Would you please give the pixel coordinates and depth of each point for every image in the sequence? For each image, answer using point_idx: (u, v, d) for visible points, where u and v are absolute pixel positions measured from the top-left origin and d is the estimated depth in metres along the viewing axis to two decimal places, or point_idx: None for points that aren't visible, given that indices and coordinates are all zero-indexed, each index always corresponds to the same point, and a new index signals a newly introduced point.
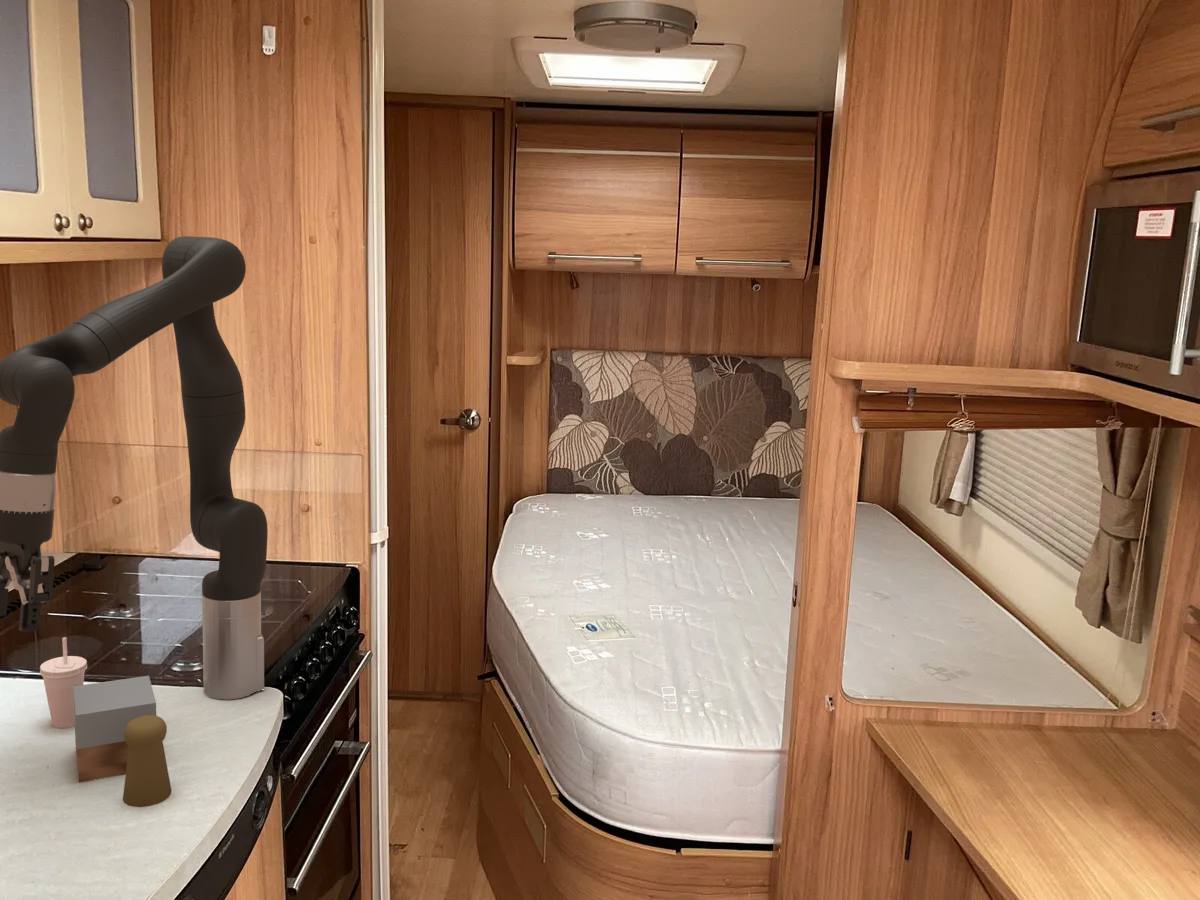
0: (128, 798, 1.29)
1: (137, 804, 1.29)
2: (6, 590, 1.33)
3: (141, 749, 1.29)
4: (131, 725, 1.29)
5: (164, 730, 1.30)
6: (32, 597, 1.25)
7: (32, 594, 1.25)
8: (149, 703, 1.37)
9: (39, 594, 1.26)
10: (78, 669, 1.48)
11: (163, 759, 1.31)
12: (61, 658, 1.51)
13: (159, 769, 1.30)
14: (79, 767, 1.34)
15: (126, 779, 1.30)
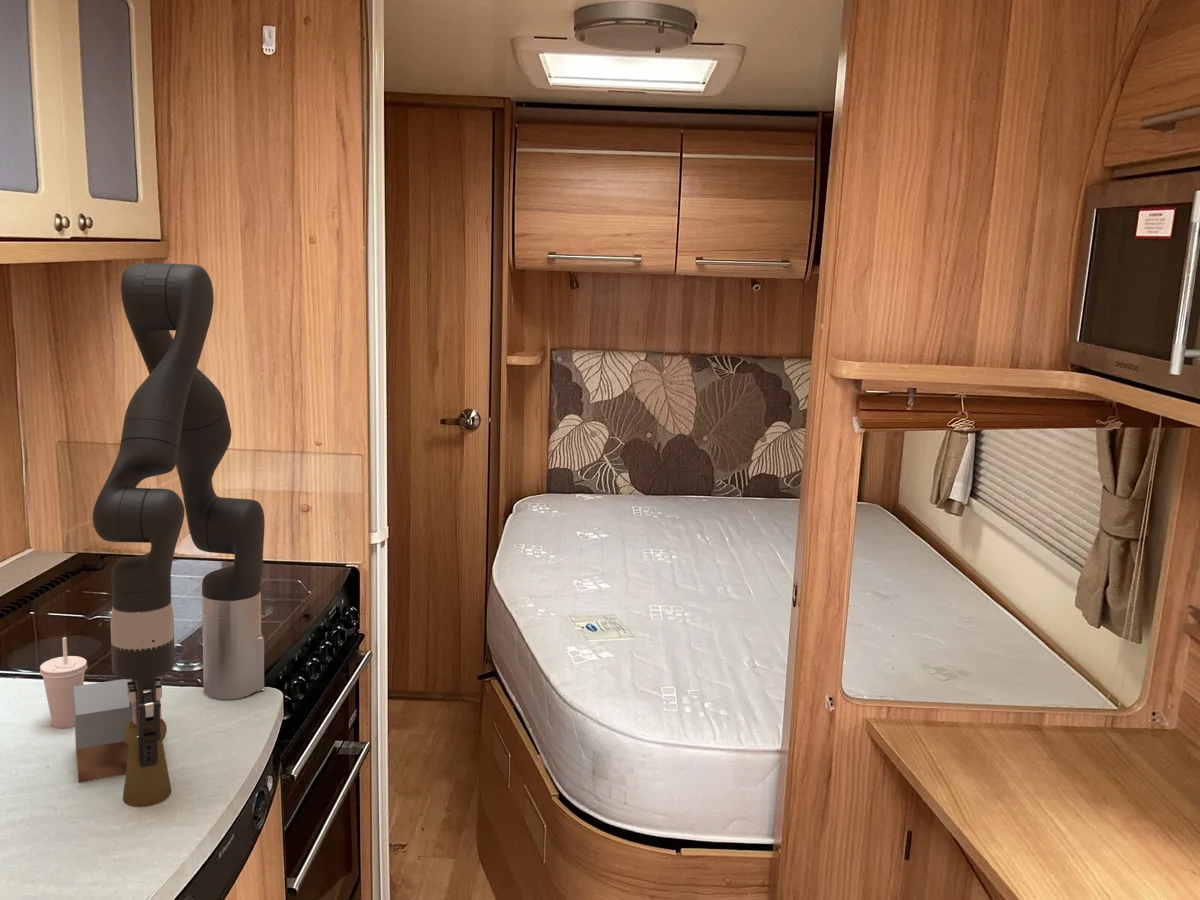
0: (128, 798, 1.29)
1: (137, 804, 1.29)
2: None
3: None
4: (131, 725, 1.29)
5: (164, 730, 1.30)
6: (139, 738, 1.25)
7: (139, 735, 1.25)
8: None
9: (146, 735, 1.25)
10: (78, 669, 1.48)
11: (163, 759, 1.31)
12: (61, 658, 1.51)
13: (159, 769, 1.30)
14: (79, 767, 1.34)
15: (126, 779, 1.30)
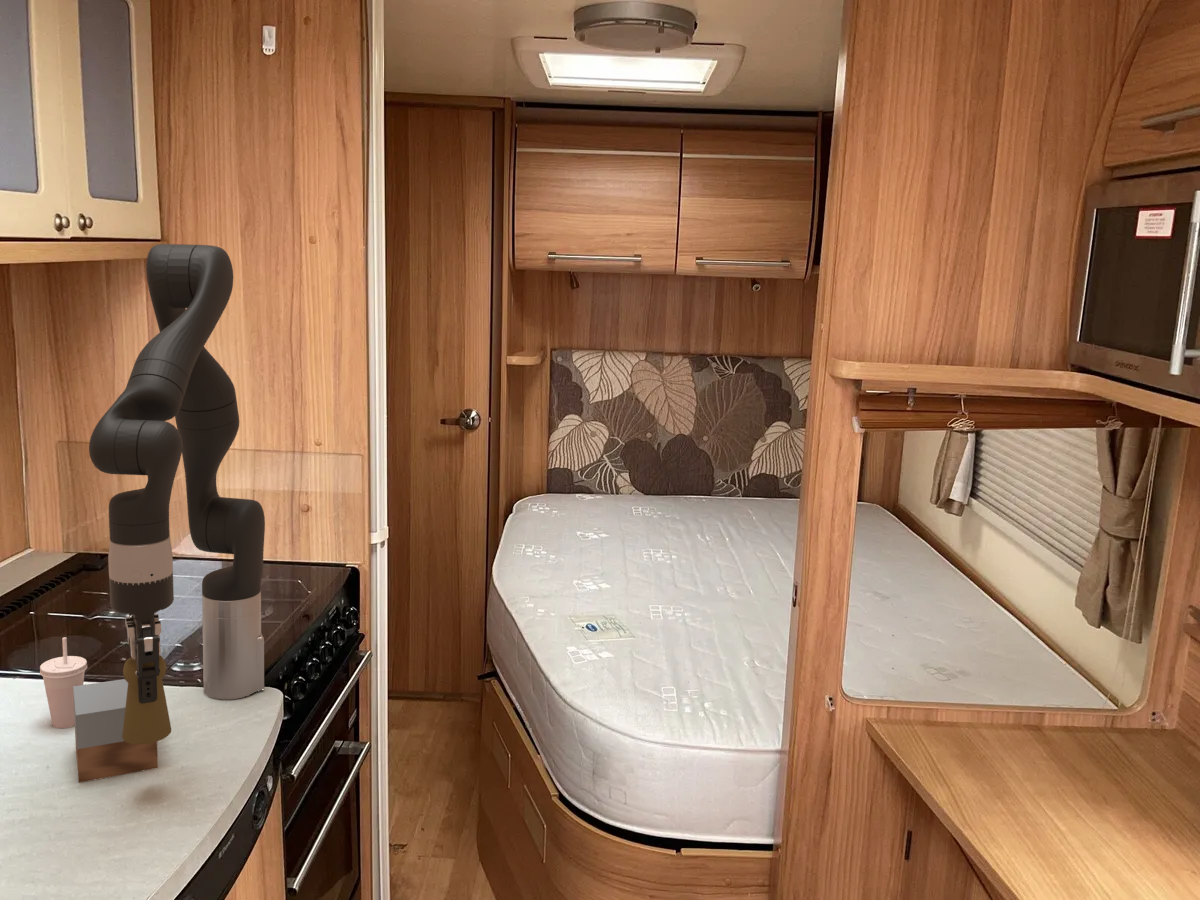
0: (127, 735, 1.28)
1: (137, 741, 1.28)
2: None
3: None
4: (130, 661, 1.27)
5: (163, 667, 1.29)
6: (138, 673, 1.23)
7: (138, 670, 1.23)
8: None
9: (145, 670, 1.24)
10: (78, 669, 1.48)
11: (163, 697, 1.30)
12: (61, 658, 1.51)
13: (159, 706, 1.29)
14: (79, 767, 1.34)
15: (125, 716, 1.28)
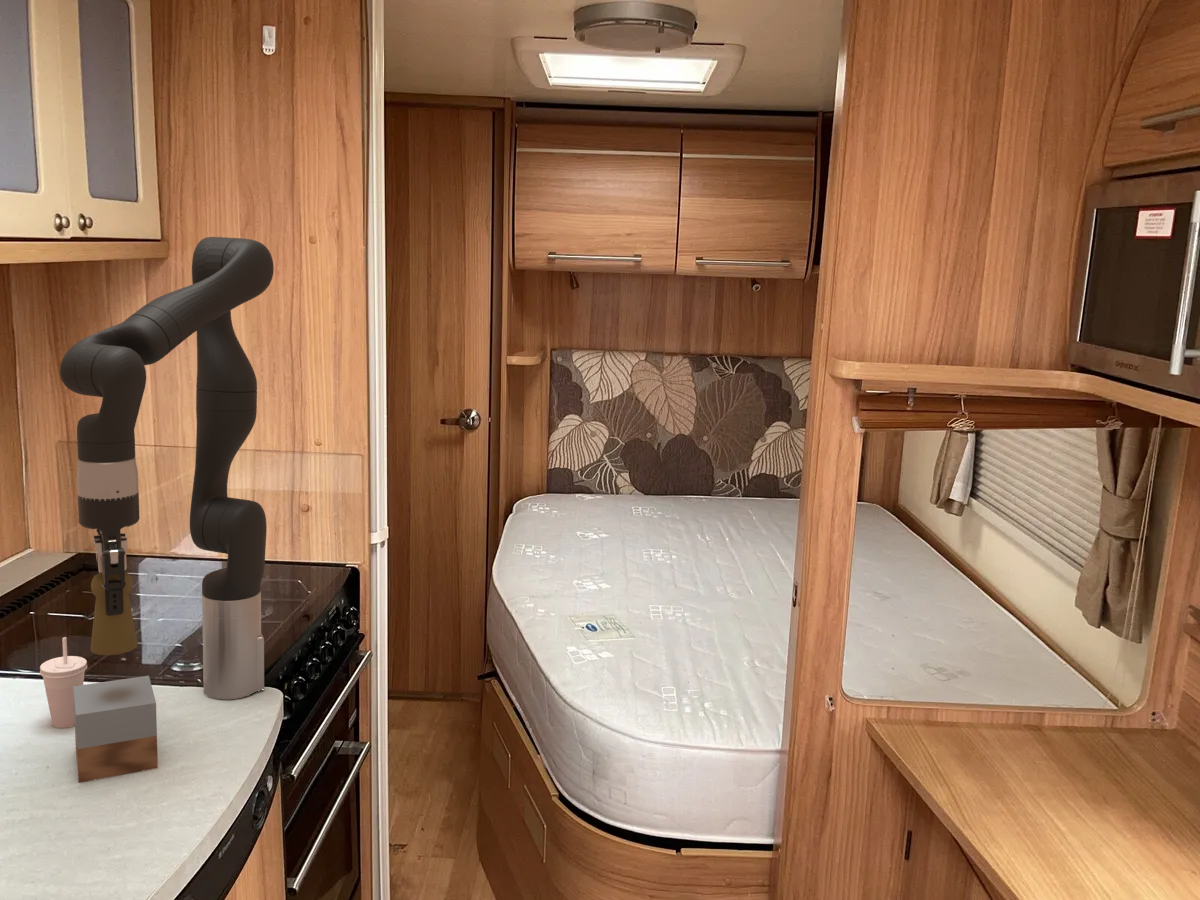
0: (95, 647, 1.35)
1: (104, 652, 1.35)
2: None
3: None
4: (98, 576, 1.34)
5: (130, 583, 1.36)
6: (104, 584, 1.30)
7: (104, 582, 1.30)
8: (149, 703, 1.37)
9: (111, 582, 1.31)
10: (78, 669, 1.48)
11: (129, 611, 1.37)
12: (61, 658, 1.51)
13: (125, 620, 1.36)
14: (79, 767, 1.34)
15: (93, 629, 1.35)
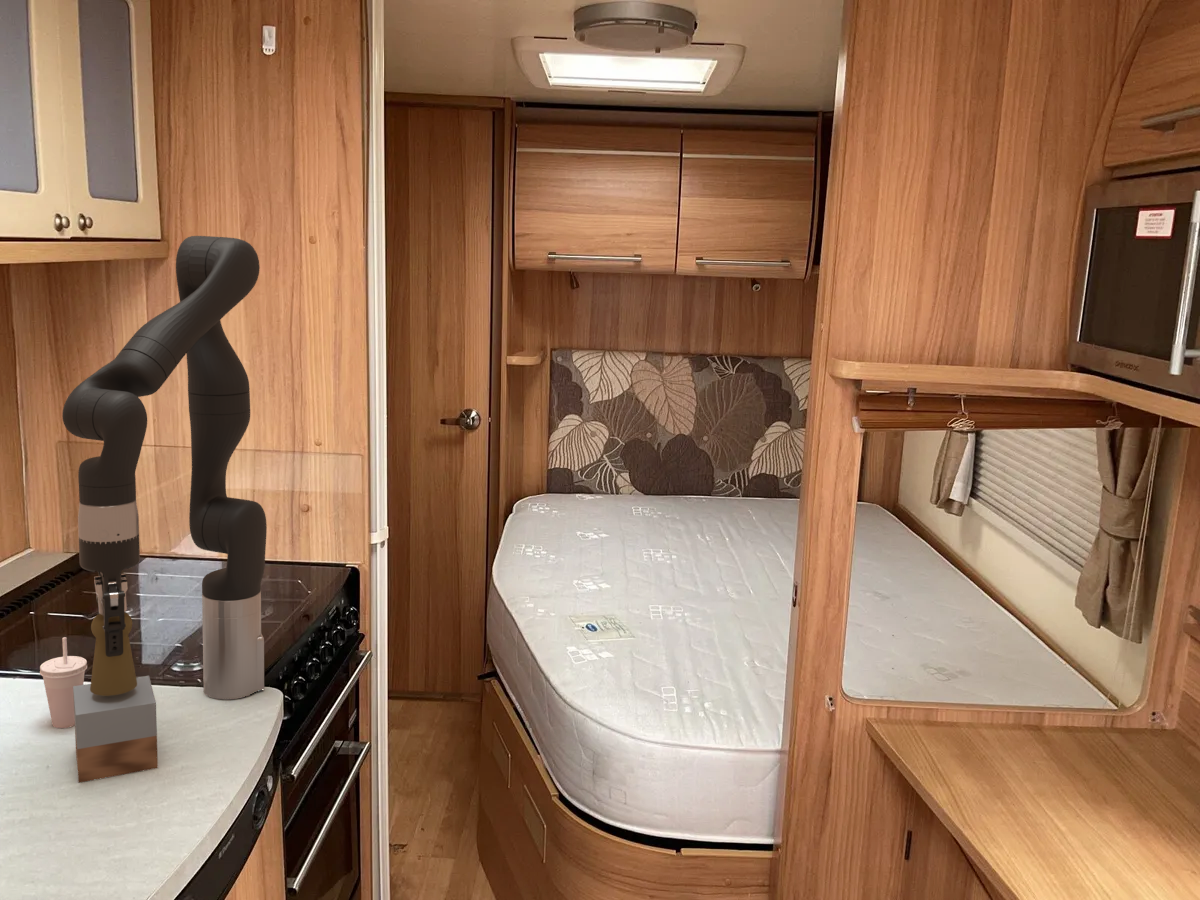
0: (95, 687, 1.36)
1: (103, 693, 1.36)
2: None
3: None
4: (98, 617, 1.35)
5: (129, 623, 1.37)
6: (104, 627, 1.31)
7: (104, 624, 1.31)
8: (149, 703, 1.37)
9: (111, 624, 1.32)
10: (78, 669, 1.48)
11: (129, 652, 1.38)
12: (61, 658, 1.51)
13: (125, 660, 1.37)
14: (79, 767, 1.34)
15: (93, 669, 1.36)
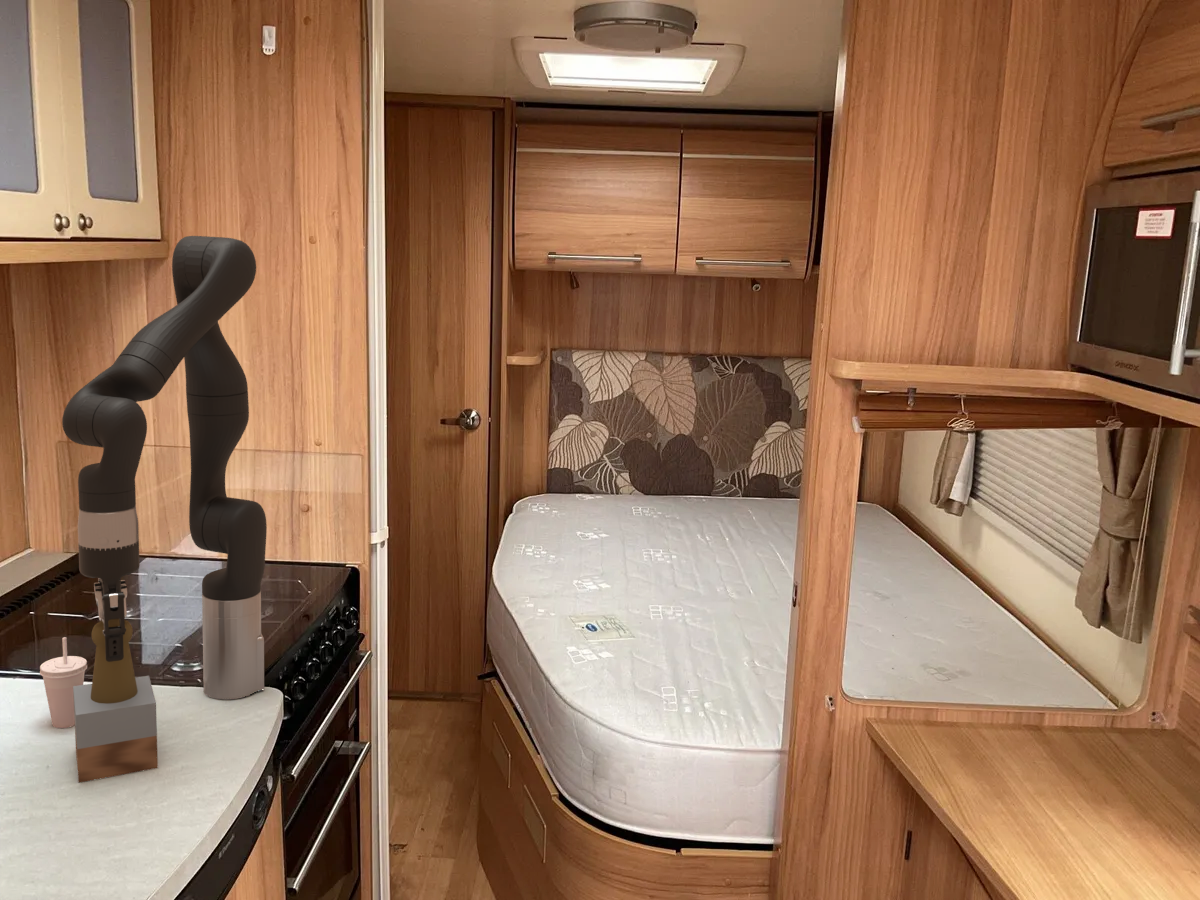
0: (95, 695, 1.36)
1: (104, 701, 1.36)
2: None
3: None
4: (98, 625, 1.36)
5: (130, 631, 1.37)
6: (104, 631, 1.30)
7: (104, 628, 1.30)
8: (149, 703, 1.37)
9: (111, 628, 1.31)
10: (78, 669, 1.48)
11: (129, 659, 1.38)
12: (61, 658, 1.51)
13: (125, 668, 1.37)
14: (79, 767, 1.34)
15: (93, 677, 1.37)
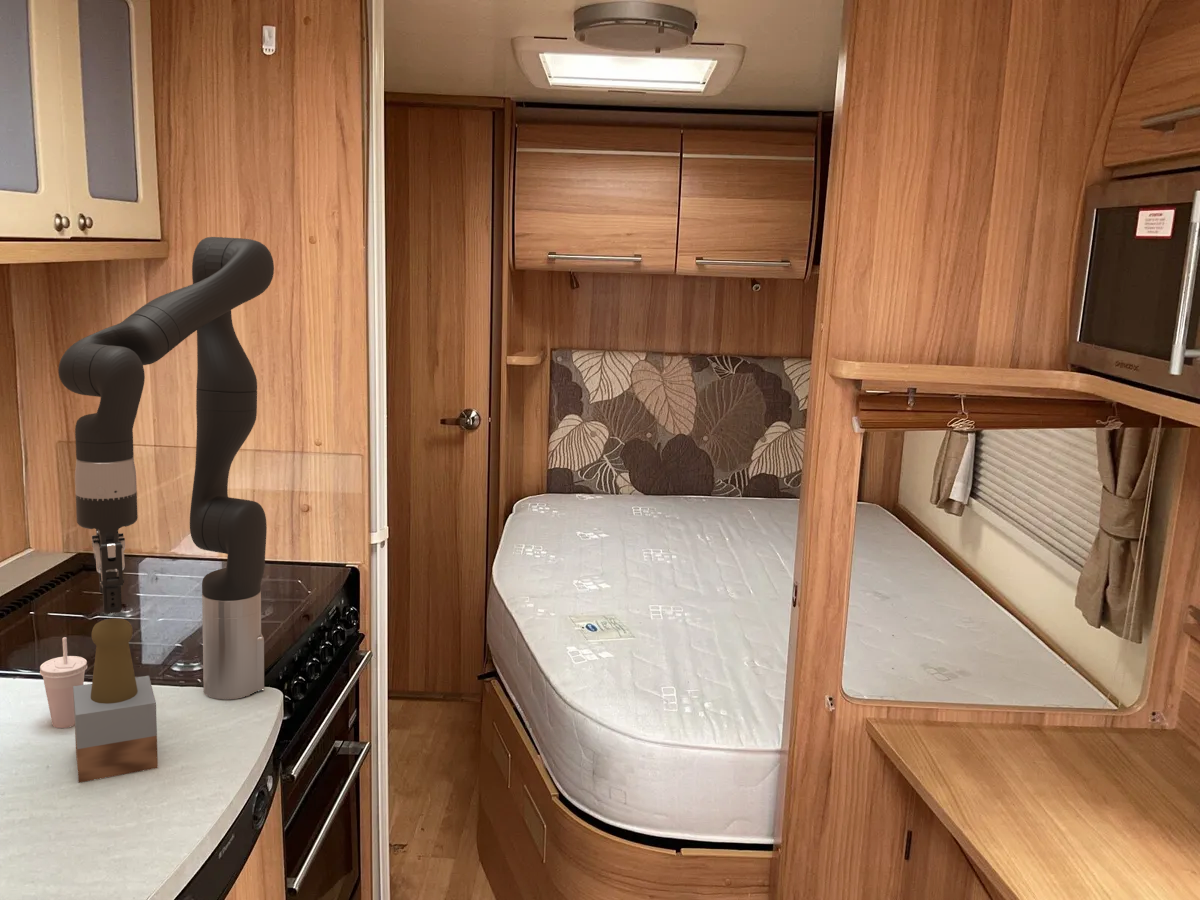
0: (95, 695, 1.36)
1: (104, 701, 1.36)
2: None
3: (108, 648, 1.35)
4: (98, 625, 1.36)
5: (130, 631, 1.37)
6: (102, 582, 1.29)
7: (102, 579, 1.29)
8: (149, 703, 1.37)
9: (109, 579, 1.29)
10: (78, 669, 1.48)
11: (129, 659, 1.38)
12: (61, 658, 1.51)
13: (125, 668, 1.37)
14: (79, 767, 1.34)
15: (93, 677, 1.37)
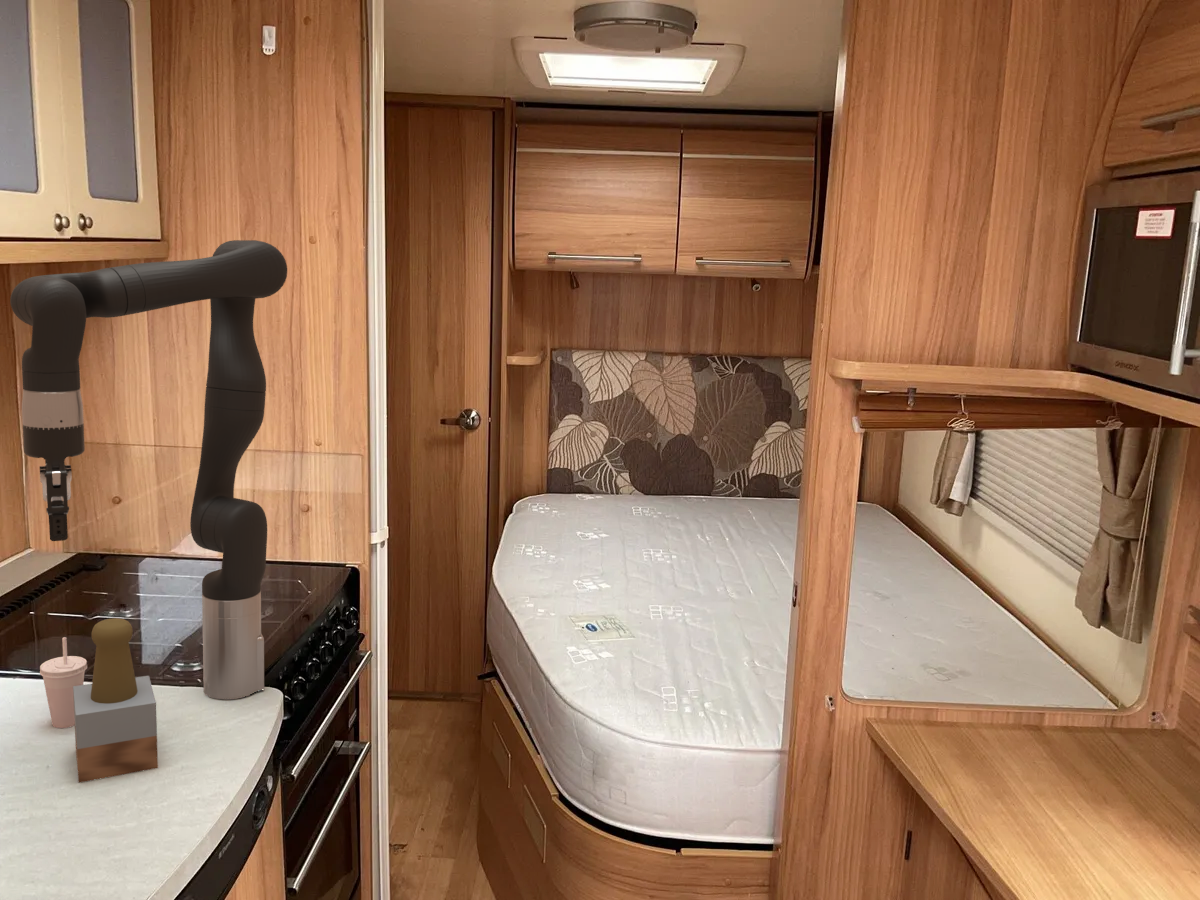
0: (95, 695, 1.36)
1: (104, 701, 1.36)
2: (63, 501, 1.43)
3: (108, 648, 1.35)
4: (98, 625, 1.36)
5: (130, 631, 1.37)
6: (47, 508, 1.32)
7: None
8: (149, 703, 1.37)
9: (54, 506, 1.32)
10: (78, 669, 1.48)
11: (129, 659, 1.38)
12: (61, 658, 1.51)
13: (125, 668, 1.37)
14: (79, 767, 1.34)
15: (93, 677, 1.37)
